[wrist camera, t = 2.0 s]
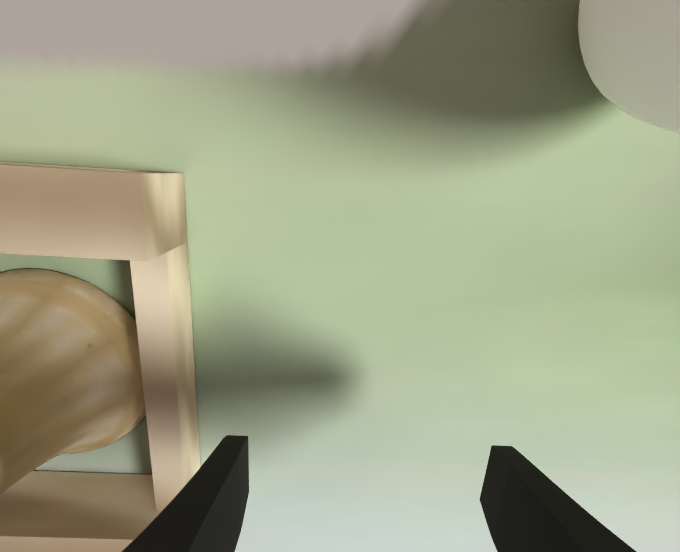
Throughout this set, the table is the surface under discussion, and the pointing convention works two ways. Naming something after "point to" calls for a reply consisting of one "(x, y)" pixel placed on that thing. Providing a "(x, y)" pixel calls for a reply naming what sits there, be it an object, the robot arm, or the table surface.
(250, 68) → the table surface
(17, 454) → the hand bell
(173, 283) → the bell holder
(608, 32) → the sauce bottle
